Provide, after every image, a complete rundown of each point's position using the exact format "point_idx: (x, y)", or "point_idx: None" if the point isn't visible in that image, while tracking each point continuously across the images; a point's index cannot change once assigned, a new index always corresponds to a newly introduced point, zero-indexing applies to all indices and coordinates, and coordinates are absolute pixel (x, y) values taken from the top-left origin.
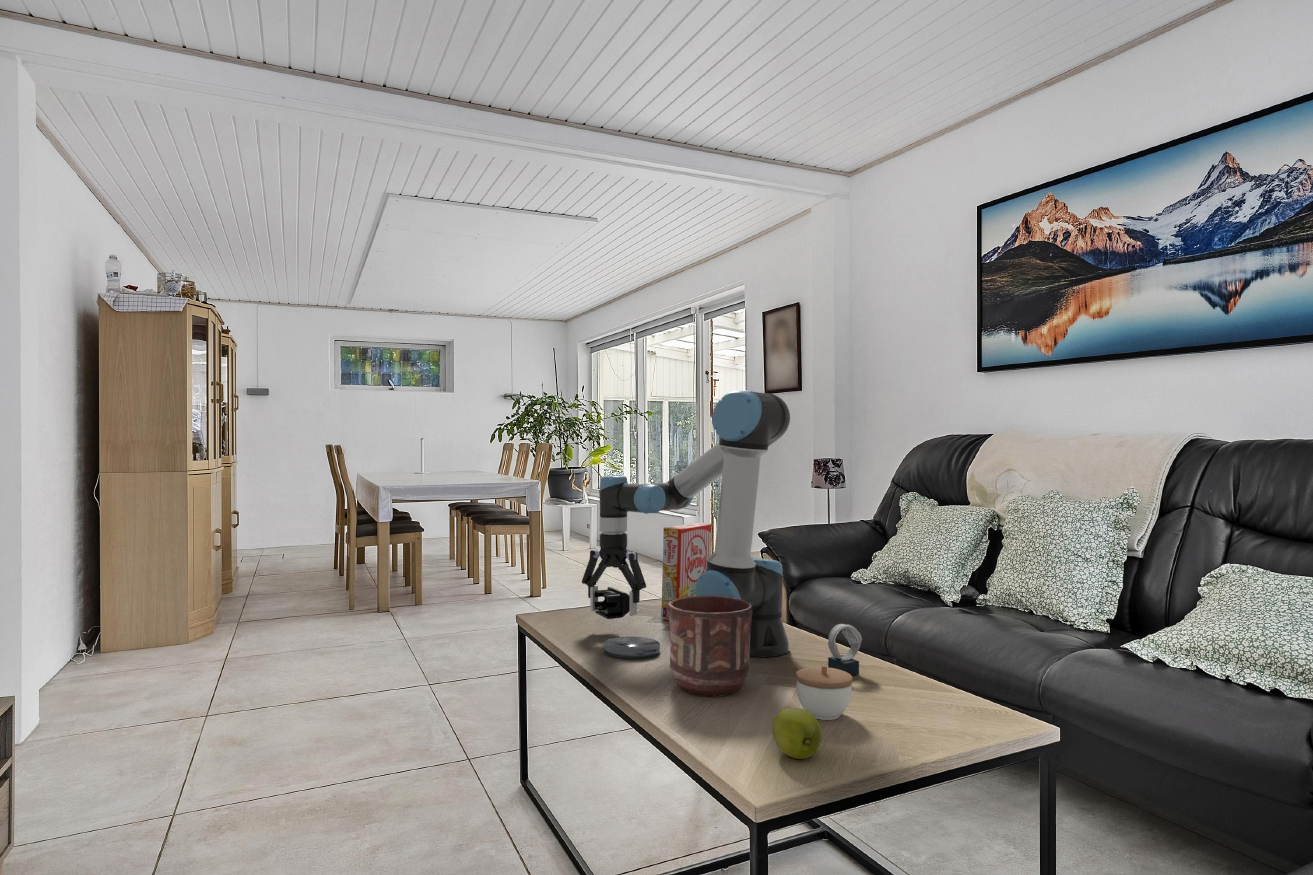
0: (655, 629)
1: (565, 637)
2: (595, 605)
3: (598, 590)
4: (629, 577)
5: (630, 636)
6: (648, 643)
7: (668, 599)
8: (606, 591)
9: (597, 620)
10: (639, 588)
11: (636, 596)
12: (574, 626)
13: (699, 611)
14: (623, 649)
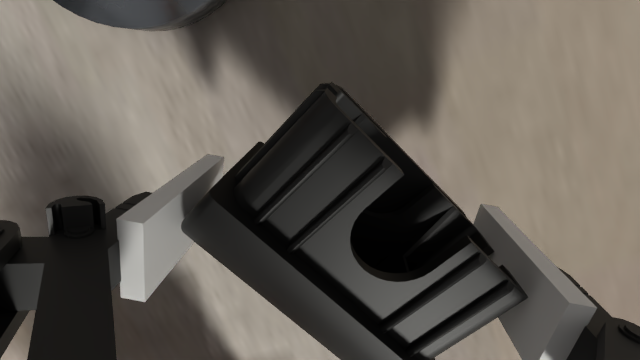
0: (219, 277)
1: (550, 7)
2: (477, 233)
3: (495, 296)
4: (34, 329)
5: (184, 13)
6: None
7: None
8: (416, 293)
9: (482, 332)
10: (4, 224)
11: (113, 211)
12: (558, 219)
13: None
14: None
